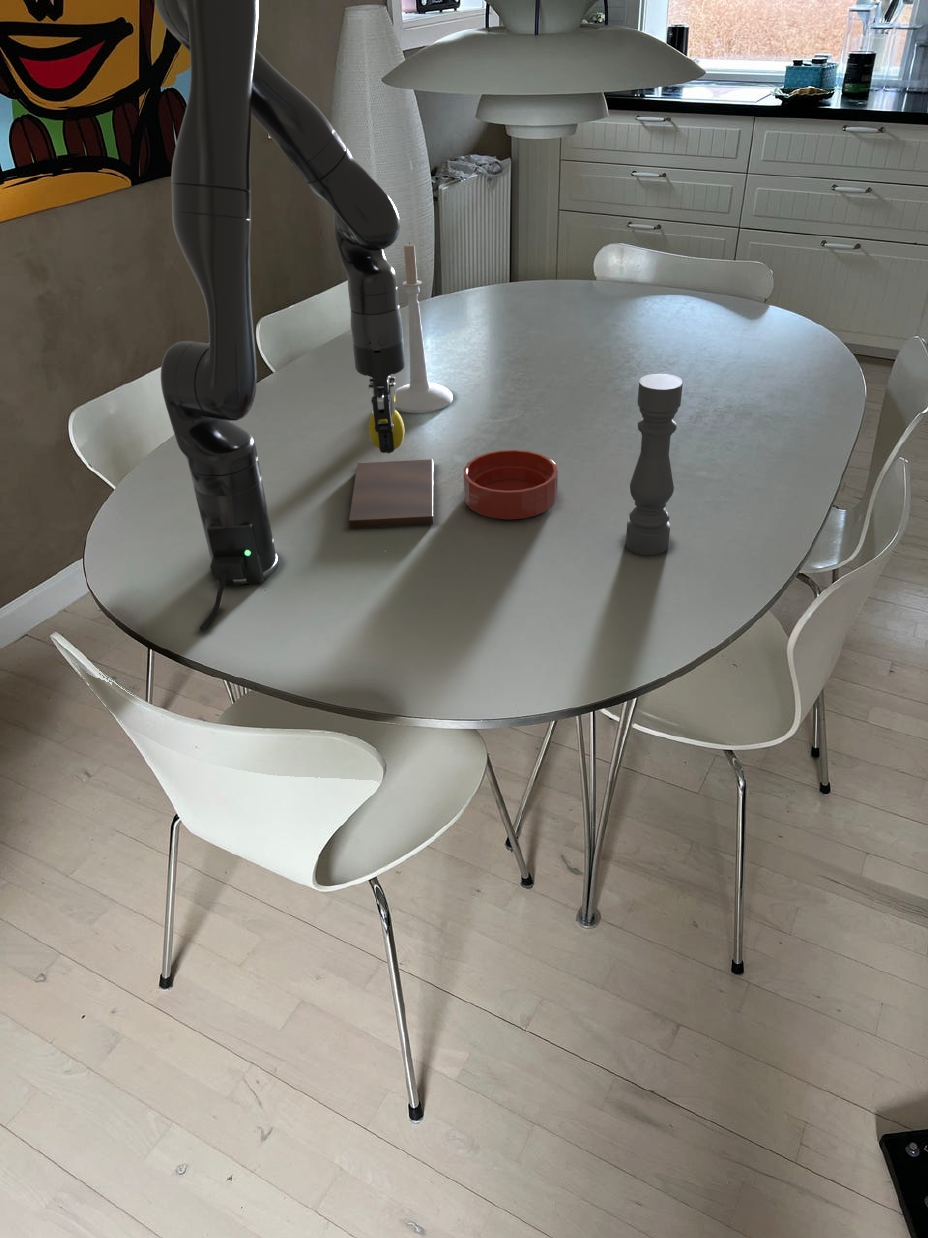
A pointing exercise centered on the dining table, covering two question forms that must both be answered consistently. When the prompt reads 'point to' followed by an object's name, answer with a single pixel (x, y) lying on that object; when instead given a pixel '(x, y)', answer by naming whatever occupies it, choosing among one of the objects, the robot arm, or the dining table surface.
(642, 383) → the candle holder
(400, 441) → the lemon
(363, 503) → the board
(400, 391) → the candlestick
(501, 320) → the dining table surface
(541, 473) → the bowl
